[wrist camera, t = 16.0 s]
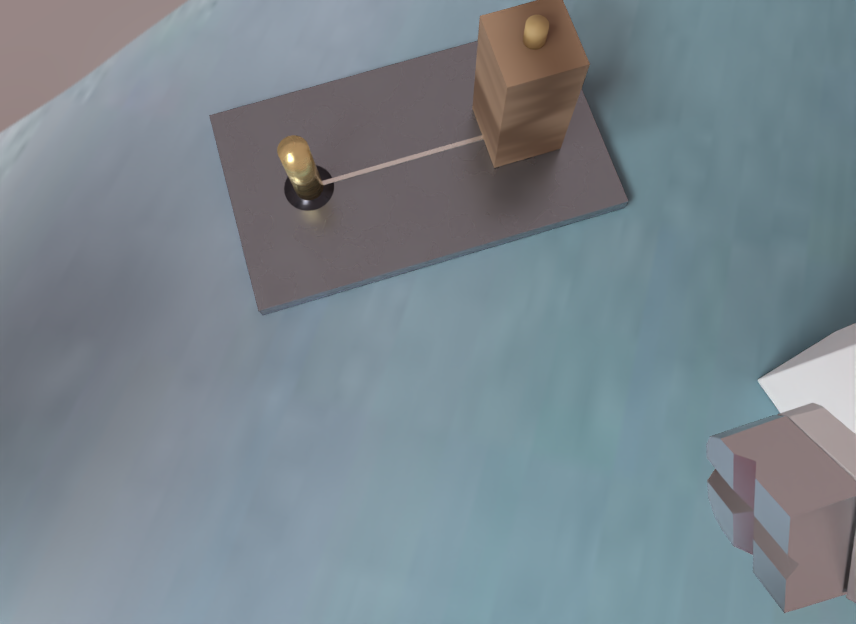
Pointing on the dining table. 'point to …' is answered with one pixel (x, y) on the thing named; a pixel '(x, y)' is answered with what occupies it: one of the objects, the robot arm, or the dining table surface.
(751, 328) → the dining table surface
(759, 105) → the dining table surface
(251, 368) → the dining table surface
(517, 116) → the walnut peg
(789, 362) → the milk
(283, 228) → the bolt plate
